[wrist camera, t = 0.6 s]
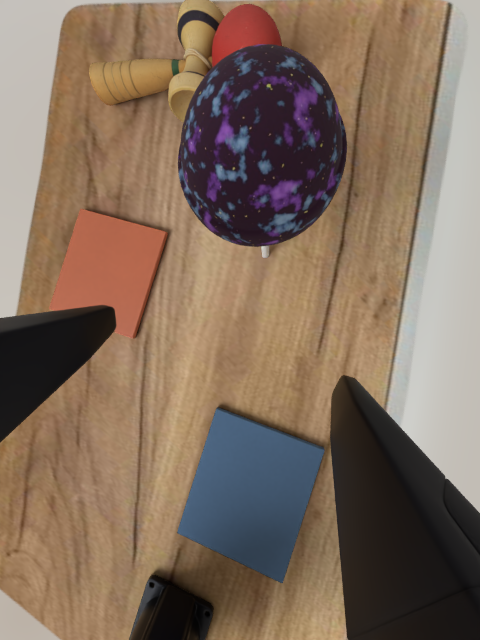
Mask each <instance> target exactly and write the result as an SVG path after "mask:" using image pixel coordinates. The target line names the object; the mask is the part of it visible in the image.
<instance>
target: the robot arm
mask: <svg viewBox="0 0 480 640" xmlns="http://www.w3.org/2000/svg"><path fill="white" fill-rule="evenodd" d="M116 326H117V324H116V315H115V310H114V308H113V307H110V306H107V305H96V306H89V307H81V308H73V309H66V310H58V311H51V312H43V313H36V314H28V315H21V316H13V317H6V318H0V442H1V441H2V440H3V439H5V438H6V437H7V436H8V435H9V434H10V433H11V432H12V431H13V430H14V429H15V428H16V427H17V426H18V425H20V424H21V423H22V422H23V421H24V420H25V419H26V418H27V417H28V416H29V415H30V414H31V413H32V412H33V411H34V410H36V409H37V408H38V407H39V406H40V405H41V404H42V403H43V402H44V401H45V400H46V399H47V398H48V397H49V396H51V395H52V394H53V393H54V392H55V391H56V390H57V389H58V388H59V387H60V386H61V385H62V384H63V383H64V382H65V381H67V380H68V379H69V378H70V377H71V376H72V375H73V374H74V373H75V372H76V371H77V370H78V369H79V368H80V367H81V366H83V365H84V364H85V363H86V362H87V361H88V360H89V359H90V358H91V357H92V356H93V355H94V353H95V352H96V351H97V350H98V349H99V348H100V347H101V346H102V344H103V343H104V342H105V341H106V340H107V339H108V338H109V337H110V335H111V334H112V333H113V332H114V331H115V329H116ZM330 441H331V454H332V466H333V478H334V489H335V501H336V513H337V524H338V536H339V548H340V559H341V571H342V583H343V594H344V606H345V618H346V629H347V638H348V640H480V513H479V512H478V511H477V510H476V509H475V508H474V507H473V505H472V504H471V503H470V502H469V501H468V500H467V499H466V498H465V497H464V496H463V495H462V494H461V493H460V492H459V491H458V489H457V488H456V487H455V486H454V485H453V484H452V483H451V482H450V481H449V480H448V479H445V475H444V474H443V473H441V471H440V470H439V469H438V468H437V467H436V466H435V465H434V463H433V462H431V460H430V459H429V458H428V457H427V456H426V455H425V454H424V453H423V452H422V450H421V449H420V448H419V447H418V446H417V445H416V444H415V443H414V442H413V441H412V440H411V439H410V437H409V436H408V435H407V434H406V433H405V432H404V431H403V430H402V429H401V428H400V427H399V425H398V424H397V423H396V422H395V421H394V420H393V419H392V418H391V417H390V416H389V415H388V414H387V412H386V411H385V410H384V409H383V408H382V407H381V406H380V405H379V404H378V403H377V402H376V400H375V399H374V398H373V397H372V396H371V395H370V394H369V393H368V392H367V391H366V390H365V389H364V387H363V386H362V385H361V384H360V383H359V382H358V381H357V380H356V379H355V378H352V377H349V376H345V375H343V376H341V377H340V379H339V381H338V383H337V385H336V387H335V389H334V391H333V393H332V401H331V431H330ZM213 611H214V608H213V606H212V604H210V603H209V602H207V601H205V600H203V599H201V598H199V597H197V596H195V595H193V594H191V593H189V592H187V591H185V590H183V589H182V588H180V587H178V586H176V585H174V584H172V583H170V582H168V581H166V580H164V579H162V578H160V577H158V576H156V575H151V576H150V577H149V580H148V582H147V584H146V587H145V591H144V594H143V597H142V600H141V603H140V606H139V609H138V613H137V616H136V619H135V622H134V625H133V628H132V632H131V635H130V638H129V640H205V638H206V635H207V632H208V629H209V626H210V622H211V619H212V616H213Z"/></svg>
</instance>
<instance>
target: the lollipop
mask: <svg viewBox="0 0 480 640" xmlns="http://www.w3.org/2000/svg"><path fill="white" fill-rule="evenodd" d="M346 153H347V140H346V132H345V127H344V124H343V121H342V118H341V116H340V113H339V111H338V106H337V104H336V101H335V98H334V95H333V93H332V91H331V89H330V87H329V85H328V83H327V81H326V80H325V78H324V77H323V75H322V74H321V73H320V71H319V70H318V69H317V68H316V67H315V66H314V65H313V64H312V63H311V62H310V61H309V60H308V59H307V58H305V57H304V56H302V55H301V54H299V53H298V52H296V51H293V50H291V49H289V48H286V47H283V46H279V45H273V44H258V45H253V46H247V47H245V48H242V49H239V50H237V51H235V52H233V53H231V54H229V55H228V56H226V57H225V58H223V59H222V60H221V61H219V62H218V63H217V64H216V65H215V66H214V67H213V68H212V69H211V70H210V71H209V72H208V73H207V74H206V76H205V77H204V78H203V80H202V81H201V82H200V84H199V86H198V87H197V89H196V91H195V93H194V95H193V96H192V99H191V101H190V103H189V106H188V109H187V112H186V115H185V119H184V123H183V128H182V135H181V144H180V148H179V155H178V171H179V178H180V183H181V187H182V190H183V192H184V195H185V197H186V200H187V202H188V203H189V205H190V207H191V209H192V210H193V212H194V213H195V215H196V216H197V217H198V219H199V220H200V221H201V222H202V223H203V224H204V225H205V226H206V227H207V228H208V229H209V230H210V231H211V232H213V233H214V234H216V235H217V236H219V237H221V238H222V239H224V240H227V241H229V242H232V243H235V244H238V245H243V246H254V247H258V246H261V248H262V256H263V257H264V258H267V257H268V256H269V245H274V244H278V243H281V242H284V241H286V240H289V239H291V238H293V237H295V236H297V235H298V234H300V233H302V232H303V231H305V230H306V229H307V228H308V227H310V226H311V225H312V224H313V223H314V222H315V221H316V220H317V219H318V218H319V217H320V216H321V215H322V213H323V212H324V211H325V210H326V208H327V207H328V205H329V204H330V202H331V200H332V198H333V196H334V194H335V192H336V191H337V188H338V186H339V183H340V181H341V178H342V175H343V171H344V167H345V162H346Z"/></svg>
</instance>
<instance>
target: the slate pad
mask: <svg viewBox="0 0 480 640" xmlns="http://www.w3.org/2000/svg"><path fill="white" fill-rule="evenodd" d="M324 451H325V450H324V448H323V447H321V446H318V445H316V444H313V443H310V442H308V441H305V440H302V439H300V438H297V437H295V436H292V435H289V434H287V433H284V432H281V431H279V430H276V429H274V428H271V427H268V426H266V425H263V424H260V423H258V422H255V421H253V420H250V419H247V418H245V417H242V416H239V415H237V414H234V413H232V412H229V411H226V410H224V409H221V408H219V407H217V409H216V411H215V415H214V418H213V421H212V424H211V427H210V430H209V434H208V437H207V440H206V443H205V446H204V449H203V452H202V456H201V459H200V462H199V465H198V468H197V471H196V475H195V478H194V481H193V484H192V487H191V490H190V494H189V497H188V500H187V503H186V506H185V509H184V513H183V516H182V519H181V522H180V525H179V528H178V532H177V533H178V534H181V535H183V536H185V537H187V538H189V539H191V540H193V541H195V542H197V543H199V544H201V545H203V546H206V547H208V548H210V549H212V550H214V551H216V552H218V553H220V554H222V555H224V556H226V557H228V558H231V559H233V560H235V561H237V562H239V563H241V564H243V565H245V566H247V567H249V568H251V569H253V570H255V571H258V572H260V573H262V574H264V575H266V576H268V577H270V578H272V579H274V580H276V581H278V582H280V583H283V580H284V577H285V574H286V571H287V567H288V564H289V561H290V558H291V555H292V552H293V548H294V545H295V542H296V539H297V536H298V533H299V530H300V526H301V523H302V520H303V517H304V514H305V511H306V507H307V504H308V501H309V498H310V495H311V492H312V489H313V485H314V482H315V479H316V476H317V473H318V470H319V466H320V463H321V460H322V457H323V454H324Z"/></svg>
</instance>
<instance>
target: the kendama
mask: <svg viewBox="0 0 480 640" xmlns="http://www.w3.org/2000/svg"><path fill="white" fill-rule="evenodd" d="M177 32H178V37H179V40H180V43H181V45H182V46H183V48H184V50H185V54H184V60H175V59H139V60H128V61H118V62H97V63H92V64H91V65H90V69H89V74H90V79H91V83H92V85H93V88H94V90H95V92H96V93H97V95H98V96H99V98H100V99H101V100H102V101H103V102H104V103H105V104H107V105H114V104H118V103H120V102H124V101H127V100H131V99H135V98H139V97H143V96H147V95H151V94H155V93H159V92H162V91H164V90H167V89H169V95H168V102H169V106H170V109H171V111H172V112H173V114H174V115H175V116H176V117H177V118H178V119H179V120H180V121H182V122H183V123H184V119H185V115H186V112H187V109H188V106H189V103H190V101H191V99H192V96H193V95H194V93H195V91H196V89H197V87H198V86H199V84H200V82H201V81H202V80H203V78H204V77H205V76H206V74H207V73H208V72H209V71H210V70H211V69H212V68H213V67H214V66H215V65H216V64H217V63H218V62H219V61H221V60H222V59H223V58H225V57H226V56H228V55H229V54H231V53H233V52H235V51H237V50H239V49H242V48H245V47H247V46H253V45H258V44H273V45H279V46H282V44H281V38H280V35H279V31H278V29H277V26H276V24H275V22H274V21H273V19H272V18H271V17H270V15H269V14H268V13H267V12H266V11H265V10H263V9H262V8H260V7H258V6H255V5H252V4H244V5H240V6H237V7H235V8H234V9H232V10H231V11H230V12H229V13H228V14H227V15H226V16H225V17H224V15H223V13H222V12H221V10H220V9H219V8H218V7H217V6H216V5H215V4H214V3H212V2H211V1H209V0H185V1H184V2H183V3H182V5H181V7H180V10H179V14H178V20H177Z"/></svg>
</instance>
